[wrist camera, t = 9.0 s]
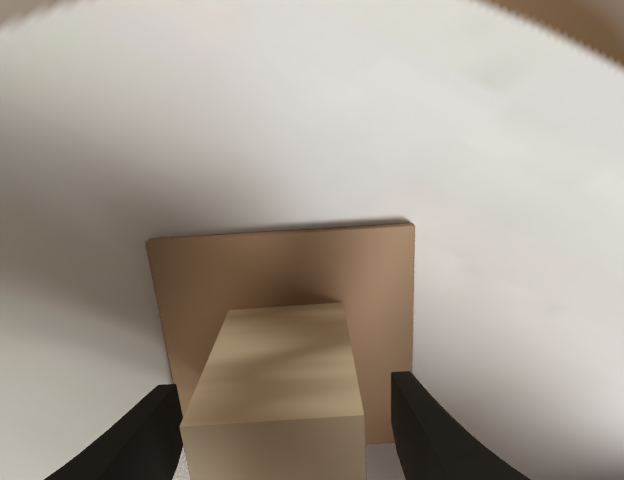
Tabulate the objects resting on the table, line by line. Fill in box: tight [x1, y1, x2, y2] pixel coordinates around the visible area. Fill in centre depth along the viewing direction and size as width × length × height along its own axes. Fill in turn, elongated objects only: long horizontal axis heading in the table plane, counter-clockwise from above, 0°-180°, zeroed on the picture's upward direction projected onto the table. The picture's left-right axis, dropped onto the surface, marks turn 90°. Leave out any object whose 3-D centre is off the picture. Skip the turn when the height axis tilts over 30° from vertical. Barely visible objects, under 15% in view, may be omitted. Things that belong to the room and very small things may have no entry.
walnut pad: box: [145, 223, 415, 444], centre depth 16 cm, size 10×10×1 cm
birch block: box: [180, 302, 367, 480], centre depth 13 cm, size 4×4×6 cm
